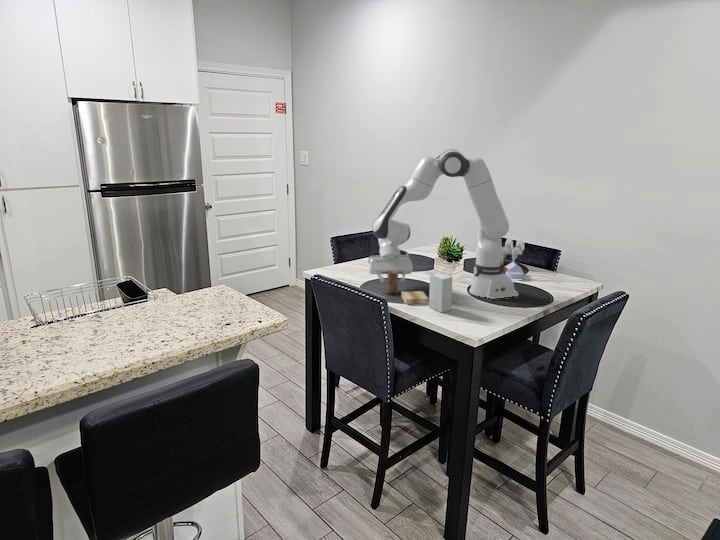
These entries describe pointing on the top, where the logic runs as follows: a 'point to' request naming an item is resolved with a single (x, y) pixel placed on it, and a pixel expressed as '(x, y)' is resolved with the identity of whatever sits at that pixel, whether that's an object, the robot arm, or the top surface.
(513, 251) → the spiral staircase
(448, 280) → the skincare box
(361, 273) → the top surface
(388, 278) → the walnut post
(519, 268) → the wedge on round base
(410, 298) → the oak slab
